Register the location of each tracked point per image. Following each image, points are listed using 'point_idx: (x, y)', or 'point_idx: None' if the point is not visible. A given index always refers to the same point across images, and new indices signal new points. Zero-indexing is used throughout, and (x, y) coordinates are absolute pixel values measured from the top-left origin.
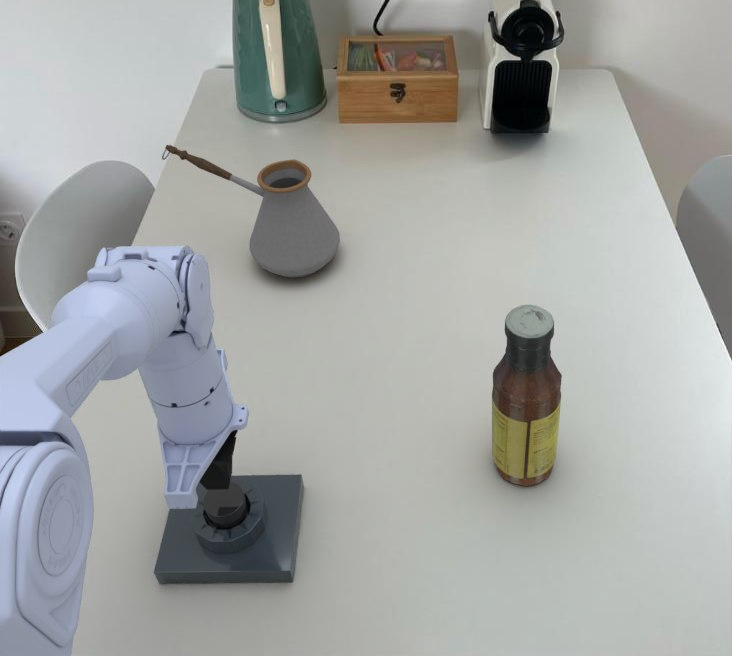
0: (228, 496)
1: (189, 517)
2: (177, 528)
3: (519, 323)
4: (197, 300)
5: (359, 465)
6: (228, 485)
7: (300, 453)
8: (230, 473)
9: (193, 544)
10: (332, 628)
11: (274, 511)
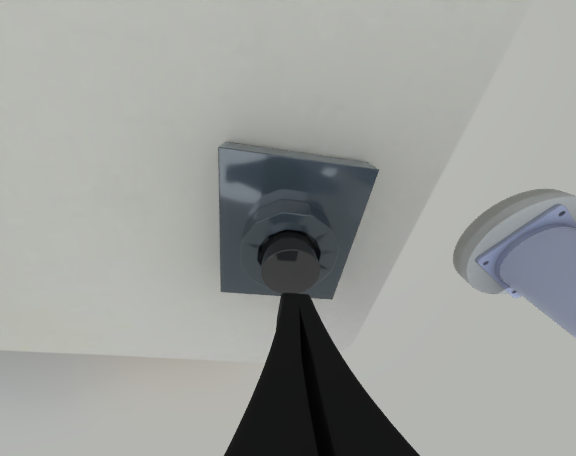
0: (288, 268)
1: None
2: None
3: None
4: None
5: (180, 28)
6: (312, 302)
7: (164, 144)
8: (306, 318)
9: None
10: (447, 112)
11: (282, 189)
